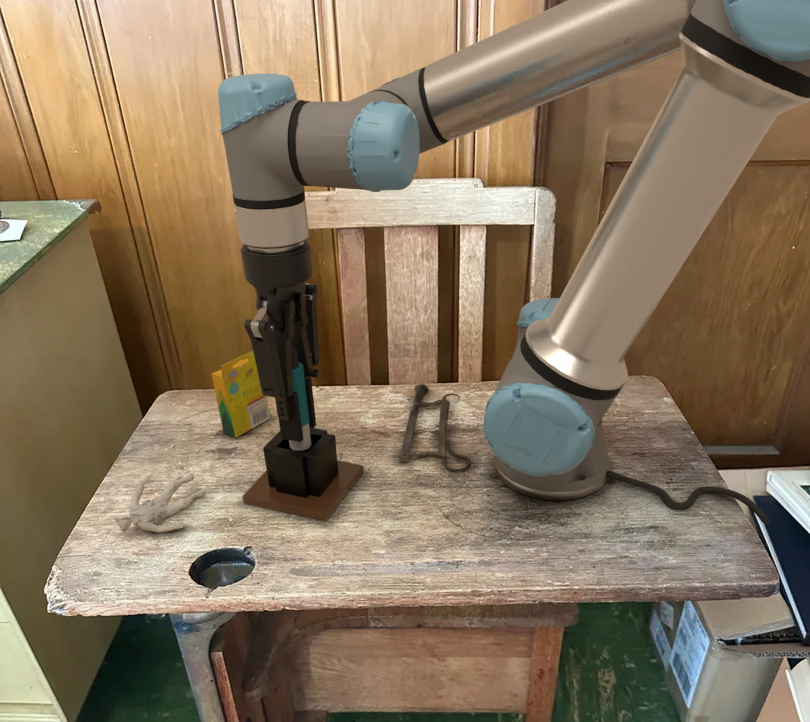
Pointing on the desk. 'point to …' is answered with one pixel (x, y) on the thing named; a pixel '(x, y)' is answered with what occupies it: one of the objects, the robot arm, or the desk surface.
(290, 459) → the holder
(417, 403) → the hacksaw
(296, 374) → the teal and black cylinder
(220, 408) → the crayon box
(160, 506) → the soldier figure
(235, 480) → the desk surface
